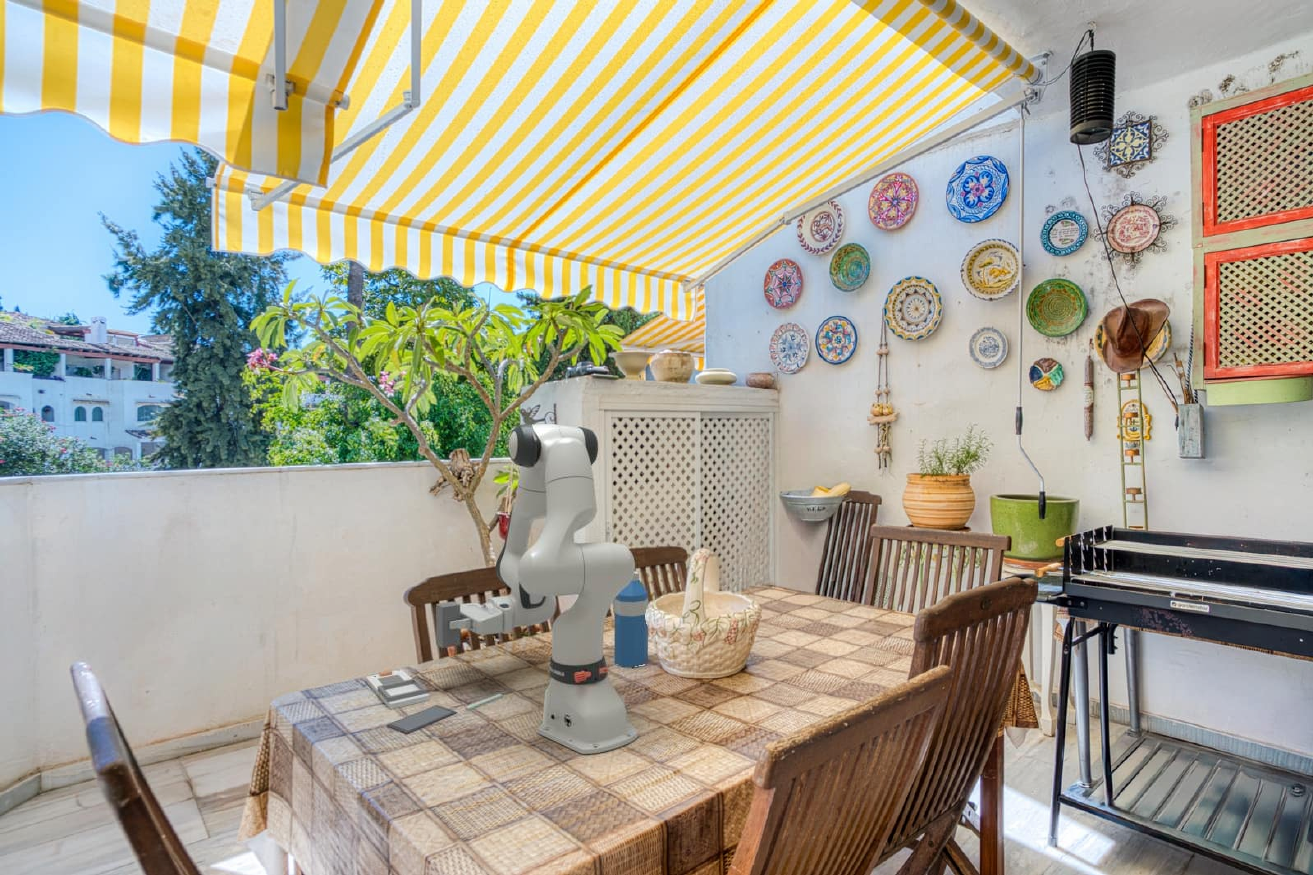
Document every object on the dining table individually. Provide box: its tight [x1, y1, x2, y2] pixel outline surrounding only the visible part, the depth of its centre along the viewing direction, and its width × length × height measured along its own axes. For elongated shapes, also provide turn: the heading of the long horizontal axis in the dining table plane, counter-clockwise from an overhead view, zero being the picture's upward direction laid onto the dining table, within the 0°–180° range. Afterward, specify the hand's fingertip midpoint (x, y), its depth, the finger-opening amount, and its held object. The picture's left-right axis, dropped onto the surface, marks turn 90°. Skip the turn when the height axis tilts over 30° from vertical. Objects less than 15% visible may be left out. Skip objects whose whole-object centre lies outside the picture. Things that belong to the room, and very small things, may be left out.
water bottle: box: [613, 570, 649, 668], centre depth 182 cm, size 9×9×25 cm
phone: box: [386, 704, 458, 735], centre depth 144 cm, size 7×13×1 cm, turn 146°
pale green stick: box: [465, 693, 504, 712], centre depth 154 cm, size 10×1×1 cm, turn 144°
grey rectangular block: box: [435, 601, 461, 649], centre depth 164 cm, size 4×5×10 cm
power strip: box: [365, 669, 431, 710], centre depth 161 cm, size 22×9×2 cm, turn 37°
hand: (444, 622), depth 163 cm, fingers closed on grey rectangular block, 4 cm apart
